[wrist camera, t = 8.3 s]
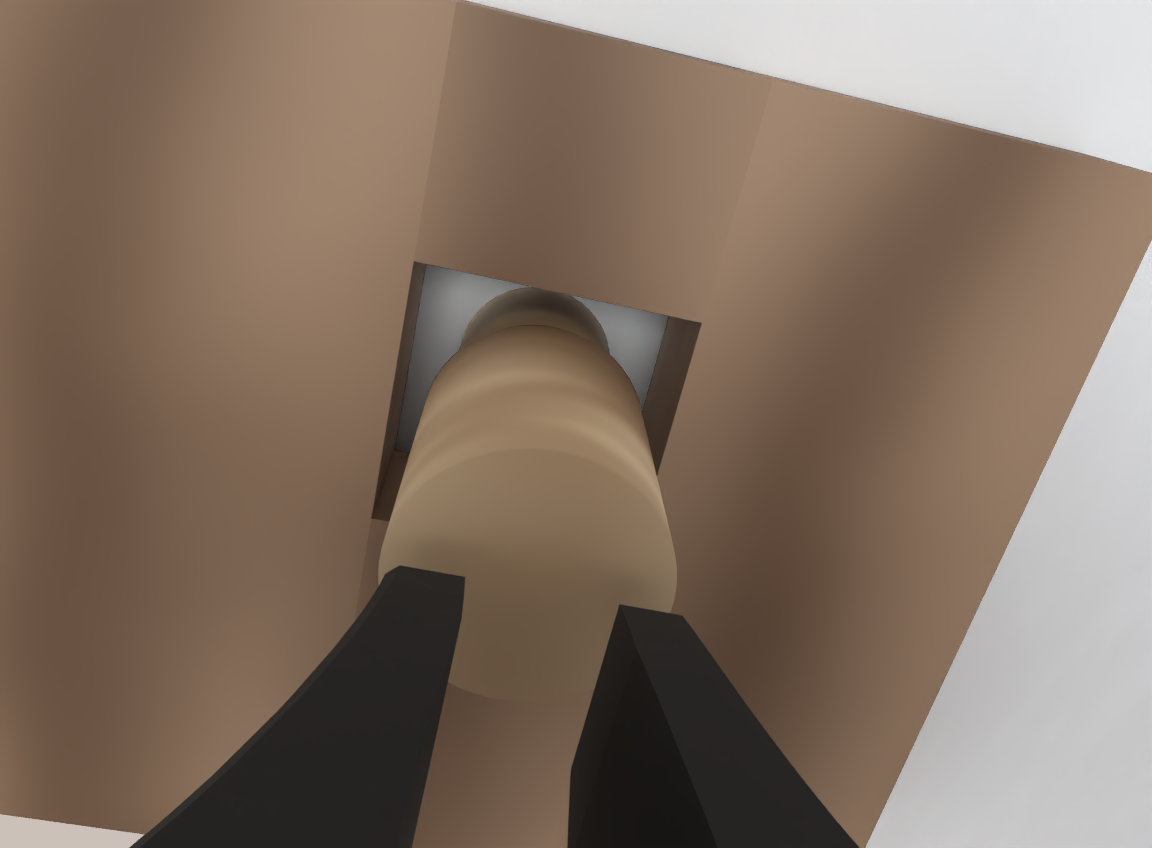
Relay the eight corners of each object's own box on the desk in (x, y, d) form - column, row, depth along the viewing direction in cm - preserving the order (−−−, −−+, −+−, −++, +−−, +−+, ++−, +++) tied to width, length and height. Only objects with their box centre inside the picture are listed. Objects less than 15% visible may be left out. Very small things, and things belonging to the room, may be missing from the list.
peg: (650, 298, 16) (718, 489, 10) (596, 461, 17) (626, 726, 11) (466, 247, 16) (413, 414, 9) (424, 418, 17) (352, 669, 11)
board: (1085, 154, 15) (1179, 180, 13) (796, 830, 21) (825, 929, 19) (-86, -136, 13) (-216, -166, 11) (-53, 701, 19) (-134, 795, 17)
